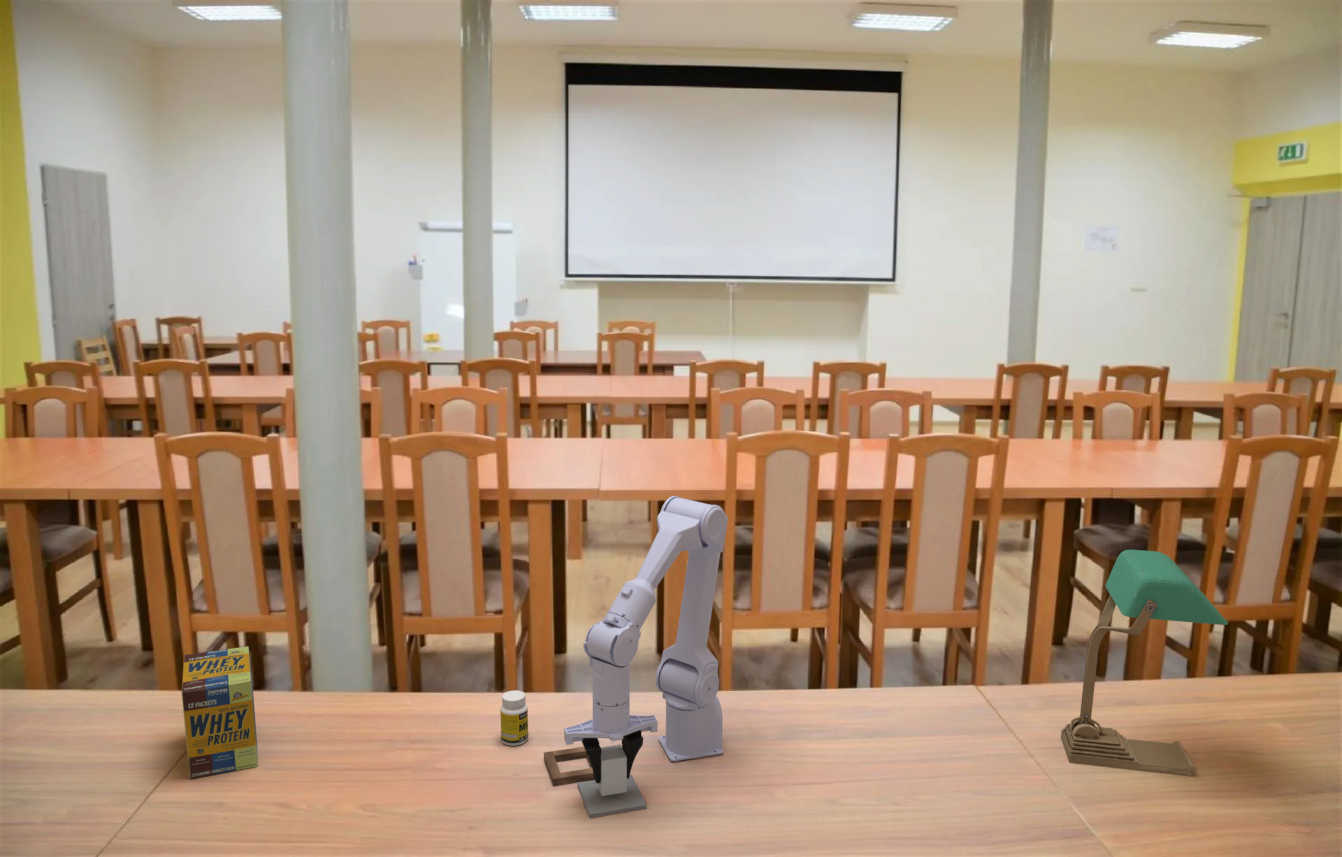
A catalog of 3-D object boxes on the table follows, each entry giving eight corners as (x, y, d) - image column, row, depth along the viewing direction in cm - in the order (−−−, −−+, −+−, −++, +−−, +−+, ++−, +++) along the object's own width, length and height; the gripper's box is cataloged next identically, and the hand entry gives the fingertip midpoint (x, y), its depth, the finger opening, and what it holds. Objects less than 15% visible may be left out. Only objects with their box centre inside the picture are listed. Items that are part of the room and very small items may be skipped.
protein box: (189, 780, 162) (180, 692, 158) (191, 736, 175) (183, 653, 172) (259, 767, 166) (252, 680, 163) (255, 724, 180) (249, 643, 176)
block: (620, 778, 160) (620, 744, 159) (626, 792, 157) (626, 757, 155) (595, 782, 159) (595, 748, 158) (601, 796, 155) (601, 760, 154)
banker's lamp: (1057, 727, 181) (1075, 543, 174) (1181, 740, 177) (1205, 552, 170) (1073, 774, 166) (1093, 574, 159) (1209, 789, 162) (1236, 584, 154)
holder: (593, 751, 171) (593, 745, 171) (604, 777, 163) (604, 771, 163) (543, 758, 169) (543, 752, 169) (553, 785, 161) (553, 779, 161)
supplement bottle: (522, 748, 172) (521, 703, 171) (497, 745, 173) (495, 700, 171) (532, 734, 177) (531, 690, 175) (507, 731, 178) (505, 687, 176)
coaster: (631, 777, 163) (631, 774, 163) (646, 808, 155) (646, 804, 155) (577, 786, 161) (577, 783, 161) (589, 818, 152) (589, 814, 152)
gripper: (570, 716, 149) (571, 798, 151) (663, 703, 153) (662, 784, 156) (560, 695, 155) (562, 774, 158) (650, 683, 159) (650, 760, 162)
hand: (611, 777), depth 157 cm, fingers closed on block, 4 cm apart
